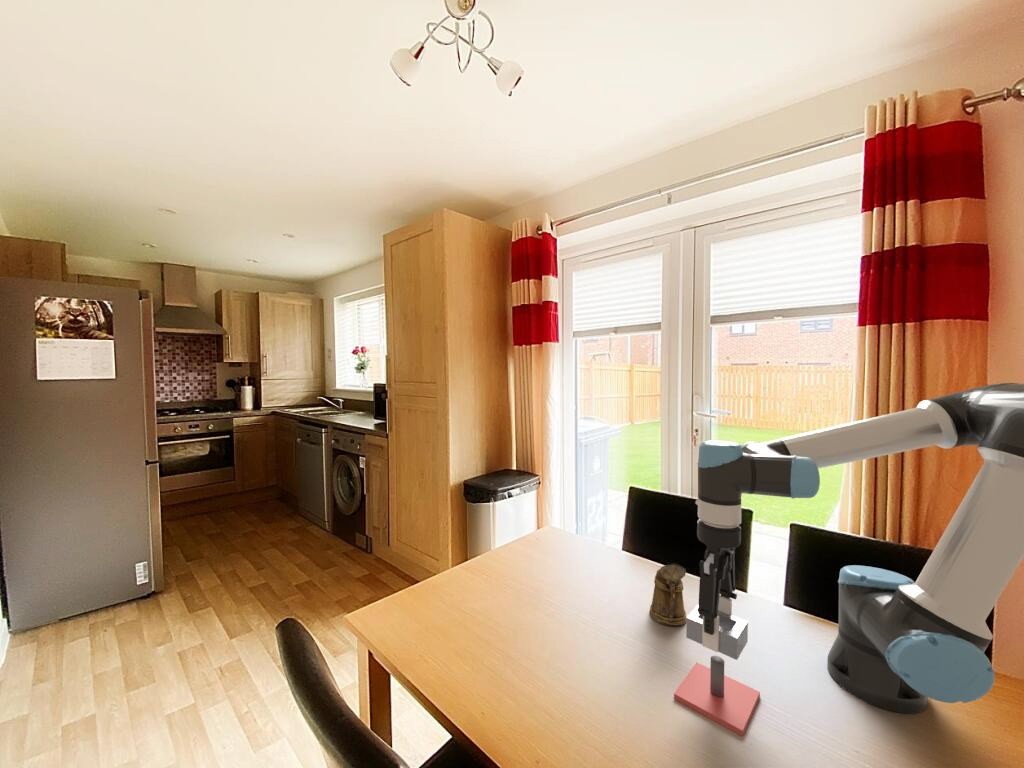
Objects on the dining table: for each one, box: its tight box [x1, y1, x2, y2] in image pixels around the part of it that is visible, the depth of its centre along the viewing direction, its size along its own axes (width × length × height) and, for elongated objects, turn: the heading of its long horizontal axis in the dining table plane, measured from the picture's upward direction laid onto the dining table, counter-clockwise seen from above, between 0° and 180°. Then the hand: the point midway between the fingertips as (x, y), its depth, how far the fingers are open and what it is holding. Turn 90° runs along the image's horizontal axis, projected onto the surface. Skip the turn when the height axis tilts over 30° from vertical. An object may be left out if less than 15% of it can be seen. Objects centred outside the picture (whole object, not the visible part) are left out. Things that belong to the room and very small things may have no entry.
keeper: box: [673, 655, 761, 737], centre depth 79 cm, size 12×12×8 cm
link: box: [685, 604, 749, 661], centre depth 79 cm, size 9×7×4 cm
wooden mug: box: [649, 562, 687, 627], centre depth 104 cm, size 9×14×18 cm, turn 167°
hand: (717, 638), depth 79 cm, fingers closed on link, 7 cm apart
